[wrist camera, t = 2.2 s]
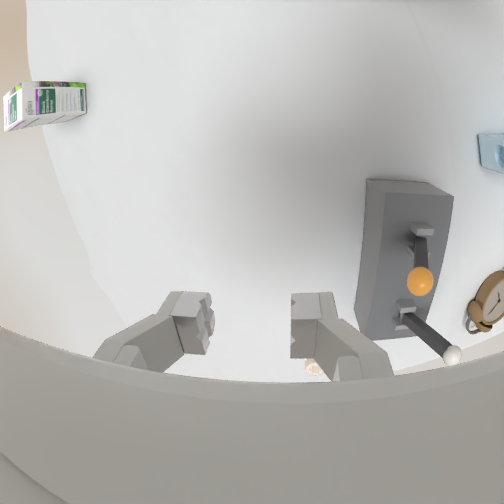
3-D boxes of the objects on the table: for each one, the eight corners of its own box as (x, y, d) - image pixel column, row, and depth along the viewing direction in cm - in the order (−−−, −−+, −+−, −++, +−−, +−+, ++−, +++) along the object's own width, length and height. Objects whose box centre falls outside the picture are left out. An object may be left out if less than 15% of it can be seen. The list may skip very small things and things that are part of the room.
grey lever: (393, 322, 34) (449, 373, 23) (397, 308, 33) (457, 358, 22) (405, 316, 34) (460, 364, 24) (409, 302, 33) (468, 349, 23)
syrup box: (87, 113, 34) (22, 119, 21) (64, 122, 35) (2, 133, 22) (85, 82, 32) (22, 80, 19) (62, 93, 33) (1, 97, 20)
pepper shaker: (308, 318, 46) (311, 358, 37) (328, 325, 46) (333, 365, 38) (297, 333, 48) (297, 373, 39) (316, 340, 48) (319, 379, 39)
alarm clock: (521, 292, 35) (482, 348, 39) (507, 284, 40) (471, 336, 44) (509, 264, 33) (466, 328, 37) (493, 256, 38) (453, 316, 42)
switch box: (353, 309, 44) (365, 350, 35) (366, 179, 35) (391, 196, 26) (405, 306, 43) (424, 344, 34) (426, 182, 33) (462, 200, 24)
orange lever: (408, 247, 30) (403, 298, 21) (411, 227, 29) (409, 272, 20) (427, 250, 29) (429, 304, 20) (431, 231, 28) (437, 278, 19)
